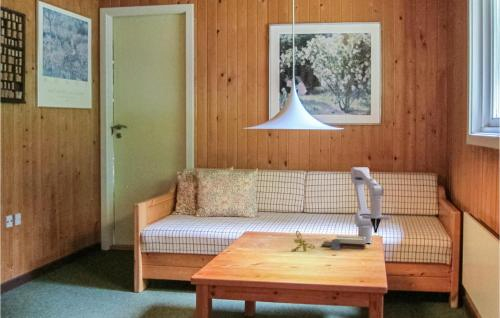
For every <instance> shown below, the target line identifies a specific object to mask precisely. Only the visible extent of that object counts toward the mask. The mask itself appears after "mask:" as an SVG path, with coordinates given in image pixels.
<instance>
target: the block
mask: <svg viewBox="0 0 500 318" xmlns="http://www.w3.org/2000/svg"><path fill="white" fill-rule="evenodd" d="M331 242H332V248H331V251H340V249H341V248H340V240H337V239H335V238H334V239H331Z"/></svg>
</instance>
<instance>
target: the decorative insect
mask: <svg viewBox="0 0 500 318" xmlns="http://www.w3.org/2000/svg"><path fill="white" fill-rule="evenodd" d="M295 236H296V238H297V239H294V240H293V242H294V243H295V244H298V245H297V246H296V247H295V248H292V249H291V252H296V251H299V249H301V248H302V251H303V252H306V251H307V248H308V249H311V250H313V249H314V250H315V249H316V246H315V245H314V244H313V243H306V240H305V239H303V238H302V233H301V232H300V231H299V230H296V231H295Z"/></svg>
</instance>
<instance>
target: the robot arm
mask: <svg viewBox="0 0 500 318" xmlns="http://www.w3.org/2000/svg"><path fill="white" fill-rule="evenodd" d="M349 174H350V180H351V183H353V184H354V189H355V196H356V201H357V207H358V211H357V212H356V213H355V215H354V223H355V224H354V225H356V227H357V232H358V233H357V237H366V241H365V243H370V244H369V245H371V244H372V241H373V240H372V228H373V232H374V233H375V234H377V233H378V229H379V226H380V223H381V222H382V220H384V221H385V220H387V221H390V217H391V216H390V215H382V198H383V197H382V196H383V195H384V187H383V185H381V184H379V183H378V182H377V181H376V180H375V178H373V177H371V176H370V169H369V167H368V166H364V167H362V166H361V167H359V166H358V167H357V166H356V167H355V166H352V167H351V168H350V173H349ZM364 184H365V186H366V187H367V189H368V194H369V199H370V210H369V209H368V204H367V199H366V193H365V188H364ZM371 240H372V241H371Z"/></svg>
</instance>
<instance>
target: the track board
mask: <svg viewBox="0 0 500 318" xmlns="http://www.w3.org/2000/svg"><path fill="white" fill-rule="evenodd" d="M366 245H367V244H366V243H365V244H362V245H361V246H359V244H352V243H341V244H340V249H351V250H352V249H353V250H366ZM321 248H331V249H332V241H328V240H327V241H326V240H325V241H323V243H322V244H321Z"/></svg>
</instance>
